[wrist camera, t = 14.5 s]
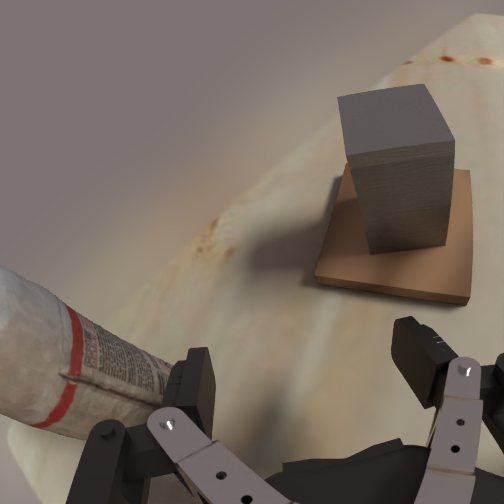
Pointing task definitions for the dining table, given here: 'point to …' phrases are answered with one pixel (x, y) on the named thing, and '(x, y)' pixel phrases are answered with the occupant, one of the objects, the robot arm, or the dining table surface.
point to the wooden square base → (404, 262)
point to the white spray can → (69, 365)
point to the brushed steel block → (399, 166)
